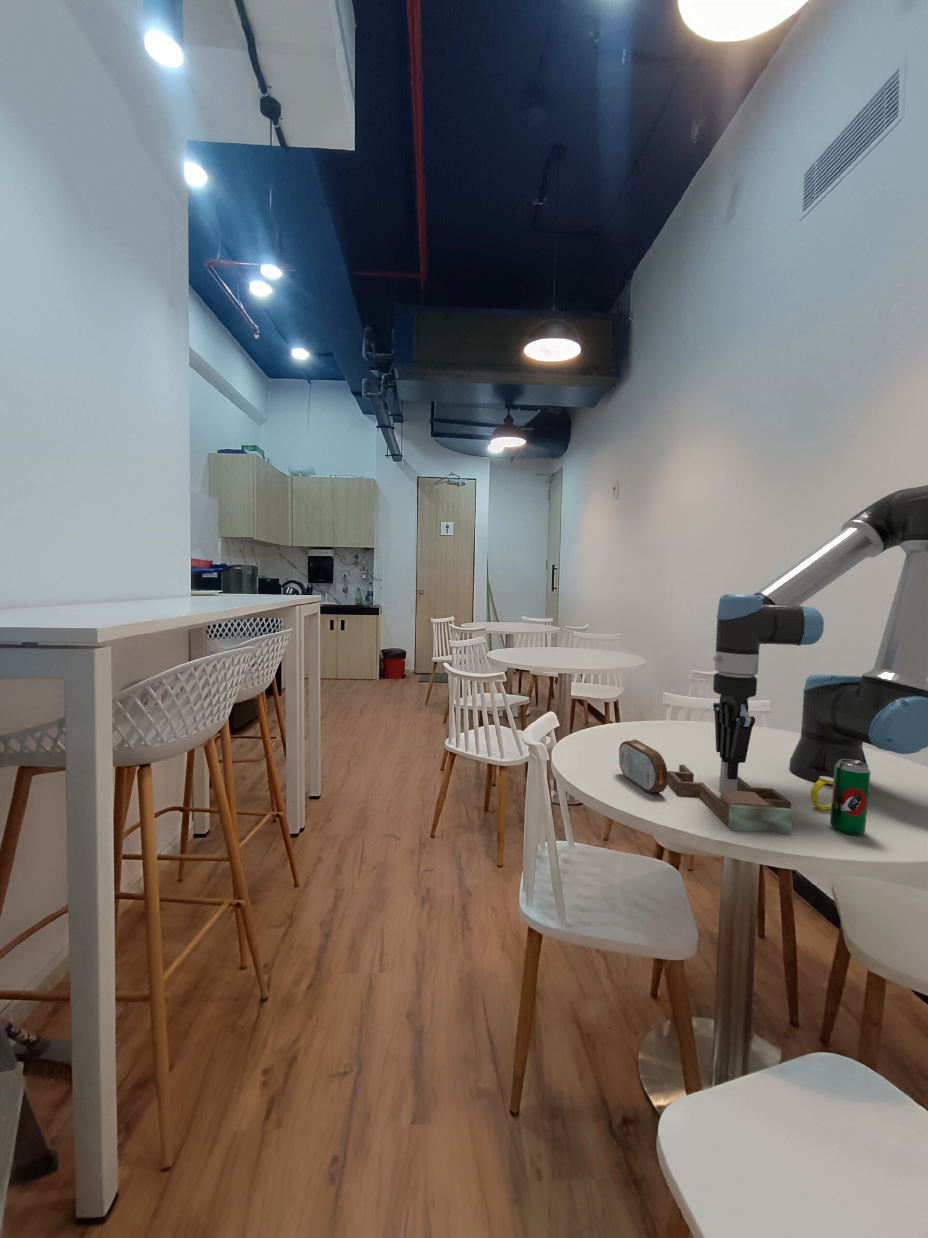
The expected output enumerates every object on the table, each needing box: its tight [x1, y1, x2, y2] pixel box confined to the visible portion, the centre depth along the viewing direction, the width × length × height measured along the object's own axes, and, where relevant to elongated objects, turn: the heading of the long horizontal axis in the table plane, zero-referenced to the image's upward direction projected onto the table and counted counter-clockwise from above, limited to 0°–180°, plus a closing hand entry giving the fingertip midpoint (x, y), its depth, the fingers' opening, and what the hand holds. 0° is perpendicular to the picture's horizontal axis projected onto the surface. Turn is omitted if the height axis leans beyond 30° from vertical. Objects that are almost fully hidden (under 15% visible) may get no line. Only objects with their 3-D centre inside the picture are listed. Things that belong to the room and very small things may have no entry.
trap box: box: [667, 764, 794, 835], centre depth 108 cm, size 18×27×4 cm, turn 177°
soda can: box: [829, 759, 871, 837], centre depth 96 cm, size 5×5×12 cm
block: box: [719, 790, 769, 807], centre depth 100 cm, size 6×6×4 cm
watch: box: [809, 776, 834, 811], centre depth 106 cm, size 6×3×6 cm, turn 104°
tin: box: [618, 739, 668, 794], centre depth 115 cm, size 15×3×8 cm, turn 13°
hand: (727, 793), depth 109 cm, fingers closed
